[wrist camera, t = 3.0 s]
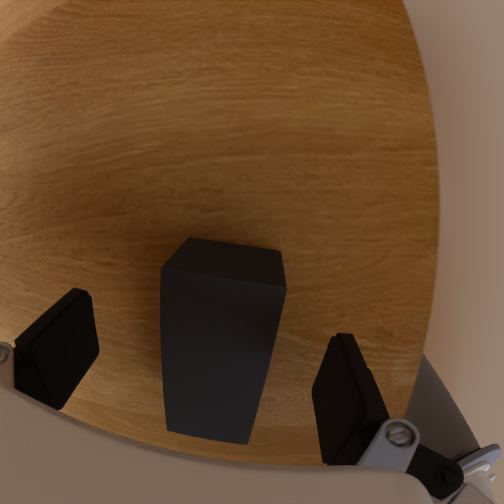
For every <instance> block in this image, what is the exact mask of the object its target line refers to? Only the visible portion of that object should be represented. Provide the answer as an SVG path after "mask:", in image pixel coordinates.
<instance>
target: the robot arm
mask: <svg viewBox="0 0 504 504" xmlns="http://www.w3.org/2000/svg"><path fill="white" fill-rule="evenodd" d="M14 342H15V345H16V346H15V347H14V348H13V347H12V346H11V345H10V344H9V343H7V342H0V504H497V503H496V500H495V498H494V495H493V493H492V491H491V488H490V485H491V483H492V480H493V479H495V477H496V475H495V474H491V475H490V476H488V474H487V472H486V471H487V470H488V469H489V467H490V464H489V462H488V461H483V462H480V463H478V464H476V465H474V466H472V467H470V468H468V469H466V470H465V471H463V470H462V468H461V467H460V466H459V464H457V463H456V462H454V461H452V460H450V459H448V458H446V457H444V456H442V455H440V454H438V453H436V452H434V451H433V450H431V449H429V448H427V447H425V446H423V445H421V444H419V438H420V436H419V432H418V430H417V428H416V427H415V426H414V425H413V424H412V423H411V422H410V421H408V420H406V419H403V418H396V417H395V418H390V417H389V414H388V412H387V409H386V406H385V404H384V402H383V399H382V397H381V394H380V392H379V389H378V387H377V384H376V382H375V380H374V377H373V375H372V373H371V371H370V369H368V368H367V365H366V363H365V361H364V358H363V356H362V354H361V352H360V349H359V347H358V345H357V342H356V340H355V338H354V336H353V334H346V333H337V334H336V336H332V337H331V339H330V342H329V344H328V347H327V350H326V353H325V356H324V358H323V361H322V364H321V366H320V369H319V371H318V374H317V377H316V379H315V382H314V384H313V387H312V399H313V405H314V411H315V417H316V423H317V430H318V436H319V443H320V449H321V456H322V462H323V463H324V464H326V463H327V465H325V466H299V465H275V464H260V463H249V462H239V461H231V460H223V459H217V458H210V457H205V456H199V455H194V454H189V453H184V452H179V451H174V450H170V449H166V448H162V447H158V446H154V445H150V444H147V443H143V442H140V441H136V440H133V439H130V438H127V437H123V436H120V435H117V434H115V433H112V432H109V431H106V430H103V429H100V428H98V427H95V426H93V425H90V424H87V423H85V422H83V421H80V420H78V419H75V418H73V417H71V416H68V415H66V414H64V413H62V412H60V411H58V410H61V409H62V408H63V406H64V405H65V403H66V402H67V400H68V399H69V397H70V396H71V394H72V393H73V391H74V390H75V388H76V387H77V385H78V384H79V382H80V381H81V379H82V378H83V377H84V375H85V374H86V372H87V371H88V369H89V368H90V366H91V365H92V364H93V362H94V361H95V359H96V358H97V356H98V354H99V343H98V338H97V332H96V326H95V320H94V313H93V306H92V298H91V296H90V295H89V294H88V292H87V291H86V290H82V289H78V288H73V289H72V290H70V291H69V292H68V293H67V294H66V295H64V296H63V297H62V298H61V299H60V300H59V301H57V302H56V303H55V304H54V305H53V306H52V307H50V308H49V309H48V310H47V311H46V312H45V313H44V314H43V315H41V316H40V317H39V318H38V319H37V320H36V321H35V322H34V323H33V324H31V325H30V326H29V327H28V328H27V329H26V330H25V331H24V332H23V333H22V334H21V335H20V336H19V337H17V338H16V339H15V340H14Z"/></svg>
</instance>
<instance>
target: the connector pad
mask: <svg viewBox="0 0 504 504" xmlns="http://www.w3.org/2000/svg"><path fill="white" fill-rule="evenodd" d="M286 290H287V287H286V280H285V274H284V267H283V261H282V255H281V252H280V251H275V250H268V249H262V248H255V247H249V246H242V245H236V244H229V243H223V242H216V241H210V240H203V239H196V238H190V237H189V238H188V239H187V240H186V241H185V242H184V243H183V244H182V245H181V246H180V247H179V249H178V250H177V251H176V252H175V253H174V254H173V255H172V256H171V257H170V258H169V260H168V261H167V262H166V263H165V264H164V265H163V266H162V267H161V283H160V326H161V358H162V377H163V392H164V404H165V415H166V425H167V430H168V431H171V432H176V433H180V434H184V435H189V436H194V437H199V438H205V439H210V440H216V441H222V442H229V443H237V444H245V445H247V444H248V442H249V438H250V435H251V431H252V428H253V424H254V421H255V417H256V413H257V410H258V406H259V402H260V398H261V395H262V391H263V387H264V383H265V379H266V375H267V371H268V367H269V363H270V359H271V355H272V351H273V347H274V343H275V339H276V334H277V330H278V326H279V321H280V317H281V313H282V308H283V304H284V299H285V295H286Z"/></svg>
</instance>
